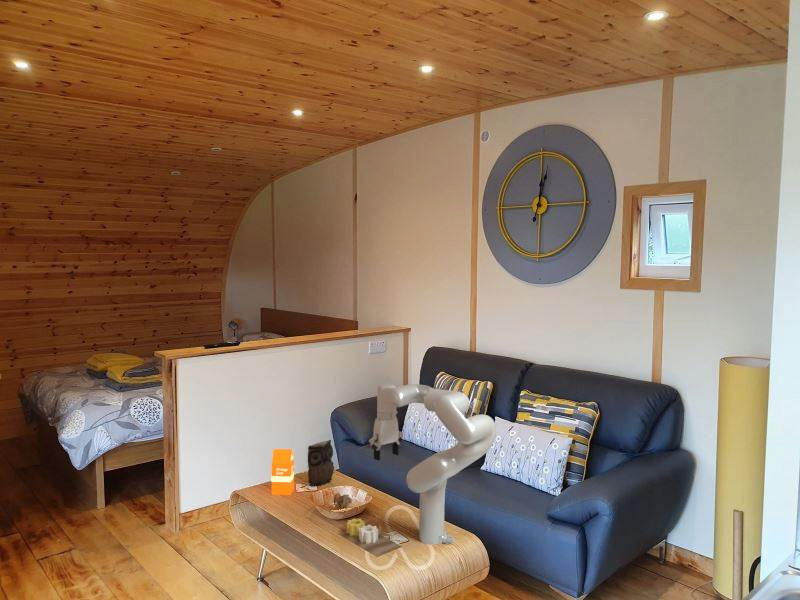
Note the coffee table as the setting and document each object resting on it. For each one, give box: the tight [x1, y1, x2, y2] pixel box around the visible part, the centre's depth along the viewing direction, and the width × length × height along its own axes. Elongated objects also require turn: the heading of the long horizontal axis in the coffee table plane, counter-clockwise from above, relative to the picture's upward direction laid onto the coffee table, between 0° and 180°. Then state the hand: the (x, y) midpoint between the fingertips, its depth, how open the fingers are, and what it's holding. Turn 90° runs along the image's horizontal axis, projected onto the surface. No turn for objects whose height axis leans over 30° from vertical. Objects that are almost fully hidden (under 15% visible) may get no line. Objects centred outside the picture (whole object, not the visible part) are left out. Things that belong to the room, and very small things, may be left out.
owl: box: [307, 439, 335, 488], centre depth 293 cm, size 13×13×20 cm
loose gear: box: [359, 524, 379, 544], centre depth 233 cm, size 7×7×4 cm
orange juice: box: [271, 448, 295, 496], centre depth 282 cm, size 8×9×20 cm
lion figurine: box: [333, 492, 353, 509], centre depth 262 cm, size 15×5×9 cm, turn 35°
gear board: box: [337, 530, 403, 558], centre depth 232 cm, size 24×12×4 cm, turn 41°
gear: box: [346, 517, 366, 536], centre depth 239 cm, size 7×7×4 cm
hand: (386, 456), depth 246 cm, fingers open, 9 cm apart
